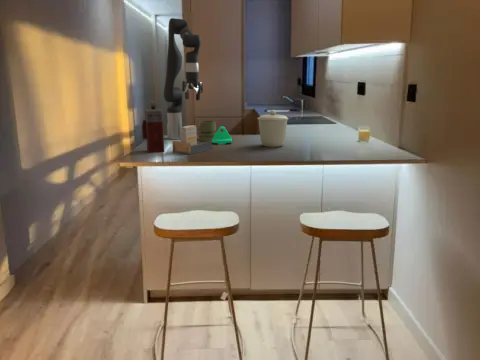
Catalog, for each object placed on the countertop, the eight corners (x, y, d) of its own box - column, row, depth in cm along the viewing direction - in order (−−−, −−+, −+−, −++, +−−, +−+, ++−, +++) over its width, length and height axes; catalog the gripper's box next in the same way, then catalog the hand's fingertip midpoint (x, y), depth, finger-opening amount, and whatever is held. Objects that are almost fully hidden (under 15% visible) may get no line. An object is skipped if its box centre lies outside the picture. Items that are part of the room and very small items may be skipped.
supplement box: (191, 148, 260) (190, 125, 257) (197, 148, 258) (196, 125, 254) (180, 150, 254) (179, 126, 251) (187, 151, 251) (186, 127, 248)
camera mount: (212, 144, 278) (211, 127, 276) (212, 142, 286) (212, 126, 283) (231, 144, 279) (231, 127, 276) (231, 142, 286) (231, 126, 284)
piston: (200, 122, 286) (196, 121, 296) (201, 141, 289) (196, 139, 299) (217, 122, 289) (213, 120, 300) (218, 140, 292) (213, 138, 303)
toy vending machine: (143, 150, 261) (139, 100, 254) (162, 149, 263) (160, 100, 257) (143, 153, 252) (140, 101, 245) (164, 152, 255) (161, 101, 248)
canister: (251, 146, 271) (251, 110, 266) (270, 142, 284) (270, 108, 279) (275, 149, 259) (275, 112, 254) (294, 145, 272) (294, 109, 267)
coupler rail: (172, 152, 254) (172, 141, 253) (197, 147, 269) (196, 137, 268) (188, 154, 247) (188, 143, 245) (212, 149, 262) (212, 138, 261)
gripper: (178, 70, 263) (179, 99, 267) (196, 71, 254) (196, 101, 258) (188, 70, 268) (188, 98, 273) (205, 71, 260) (205, 100, 264)
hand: (192, 99), depth 265 cm, fingers open, 8 cm apart
